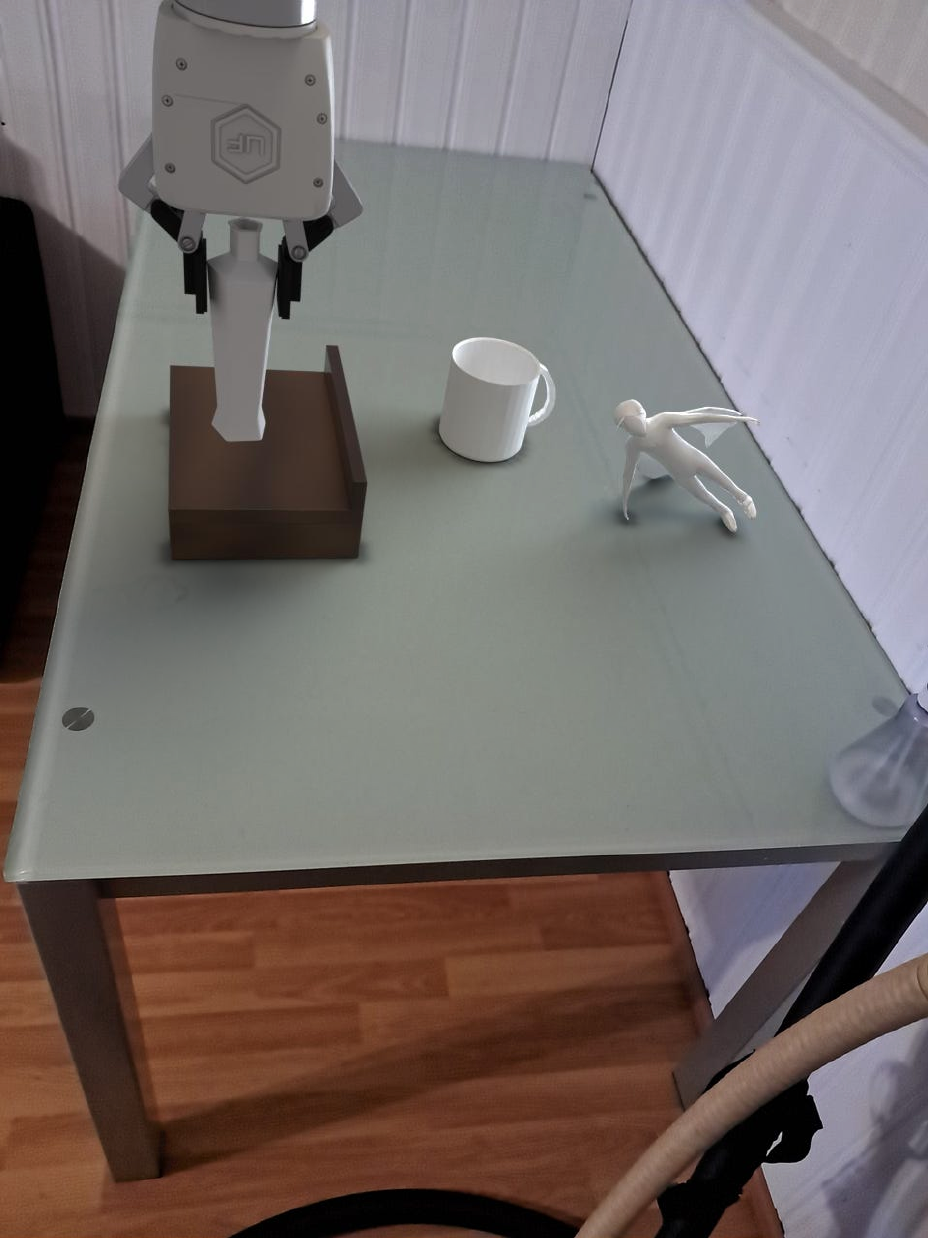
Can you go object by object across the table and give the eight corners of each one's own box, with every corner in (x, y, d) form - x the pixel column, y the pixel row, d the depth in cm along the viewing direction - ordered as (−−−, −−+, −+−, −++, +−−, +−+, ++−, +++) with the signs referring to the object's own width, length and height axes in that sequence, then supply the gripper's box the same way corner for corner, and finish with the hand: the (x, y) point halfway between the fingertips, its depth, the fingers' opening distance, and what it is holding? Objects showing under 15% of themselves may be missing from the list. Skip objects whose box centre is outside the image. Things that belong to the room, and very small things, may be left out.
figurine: (783, 420, 100) (670, 301, 89) (816, 487, 93) (697, 367, 81) (662, 507, 108) (543, 408, 96) (684, 575, 100) (558, 476, 89)
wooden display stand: (171, 559, 81) (166, 479, 76) (172, 413, 96) (168, 336, 90) (358, 558, 86) (367, 482, 80) (331, 418, 100) (338, 345, 95)
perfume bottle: (241, 454, 68) (248, 248, 57) (196, 426, 69) (195, 220, 59) (286, 430, 71) (300, 230, 60) (242, 404, 72) (248, 204, 62)
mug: (443, 460, 98) (458, 381, 92) (433, 411, 105) (447, 333, 98) (555, 467, 101) (577, 390, 95) (539, 418, 107) (558, 343, 101)
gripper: (67, -21, 46) (102, 327, 59) (414, 29, 50) (377, 343, 63) (80, -57, 51) (110, 270, 64) (394, -10, 55) (364, 289, 68)
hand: (242, 303), depth 63 cm, fingers closed on perfume bottle, 4 cm apart
